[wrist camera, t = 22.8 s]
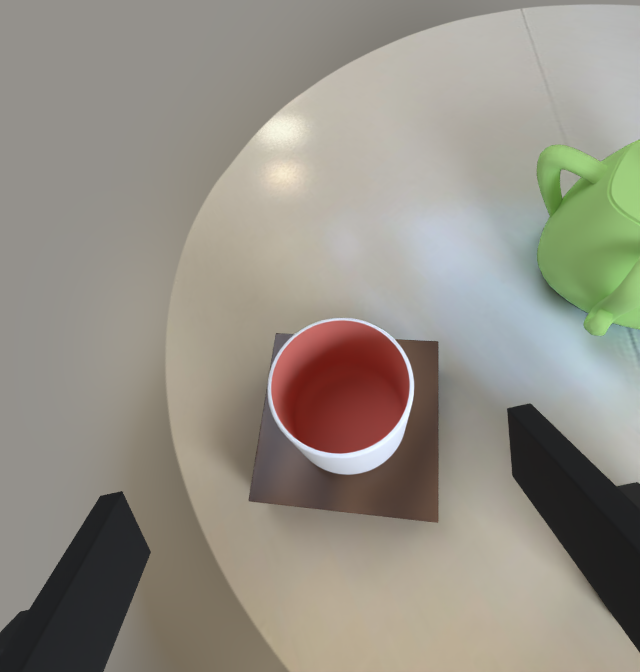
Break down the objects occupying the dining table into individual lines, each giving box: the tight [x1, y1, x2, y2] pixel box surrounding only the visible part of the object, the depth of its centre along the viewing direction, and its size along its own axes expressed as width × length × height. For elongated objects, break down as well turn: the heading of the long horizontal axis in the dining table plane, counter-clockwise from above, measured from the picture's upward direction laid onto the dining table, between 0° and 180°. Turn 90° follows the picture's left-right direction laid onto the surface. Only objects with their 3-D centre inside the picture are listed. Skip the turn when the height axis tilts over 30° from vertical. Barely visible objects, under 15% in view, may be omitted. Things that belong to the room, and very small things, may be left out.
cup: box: [268, 318, 414, 475], centre depth 34 cm, size 10×10×10 cm
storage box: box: [249, 333, 438, 523], centre depth 41 cm, size 16×16×5 cm
